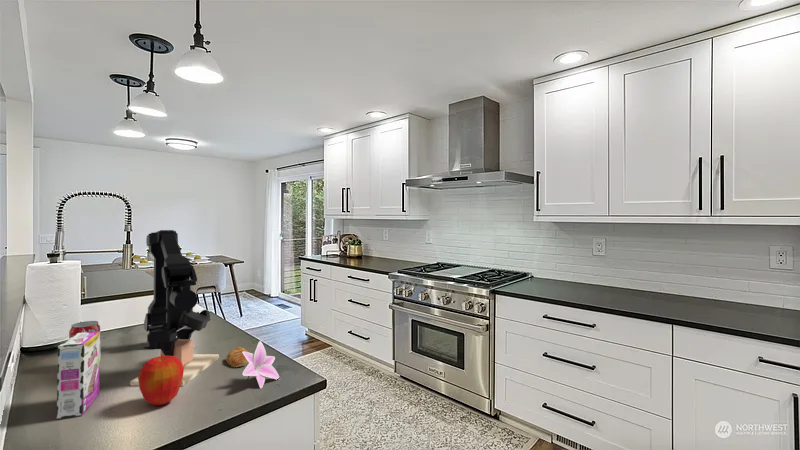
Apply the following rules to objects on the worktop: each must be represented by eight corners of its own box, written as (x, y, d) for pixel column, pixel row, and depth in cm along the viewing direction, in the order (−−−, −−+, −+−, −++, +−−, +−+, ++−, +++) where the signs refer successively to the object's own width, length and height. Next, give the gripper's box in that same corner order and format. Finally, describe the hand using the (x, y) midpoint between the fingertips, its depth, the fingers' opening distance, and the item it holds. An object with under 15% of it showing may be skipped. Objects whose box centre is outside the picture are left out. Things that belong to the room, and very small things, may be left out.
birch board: (175, 357, 119) (175, 353, 119) (218, 358, 119) (218, 354, 119) (130, 385, 99) (130, 381, 99) (183, 386, 99) (183, 381, 99)
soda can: (82, 372, 107) (82, 327, 106) (62, 370, 108) (62, 326, 108) (106, 363, 114) (106, 321, 113) (87, 361, 115) (87, 319, 115)
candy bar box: (84, 416, 84) (84, 343, 84) (55, 420, 82) (55, 346, 82) (101, 394, 94) (101, 329, 94) (76, 397, 92) (76, 332, 92)
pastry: (252, 366, 114) (252, 354, 114) (228, 371, 110) (228, 358, 110) (247, 356, 122) (247, 344, 122) (225, 360, 118) (225, 348, 118)
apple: (133, 415, 84) (134, 363, 84) (143, 398, 92) (143, 350, 92) (181, 408, 88) (181, 357, 88) (186, 391, 96) (186, 345, 96)
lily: (233, 399, 95) (251, 368, 94) (224, 367, 103) (239, 338, 102) (275, 398, 103) (291, 370, 102) (263, 369, 112) (278, 342, 111)
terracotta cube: (173, 358, 113) (173, 339, 113) (192, 359, 113) (193, 339, 113) (160, 366, 107) (160, 346, 107) (181, 367, 107) (181, 346, 107)
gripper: (187, 312, 100) (186, 369, 101) (219, 297, 119) (219, 346, 119) (145, 312, 100) (145, 369, 101) (185, 297, 119) (184, 345, 119)
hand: (177, 356), depth 110 cm, fingers open, 6 cm apart
